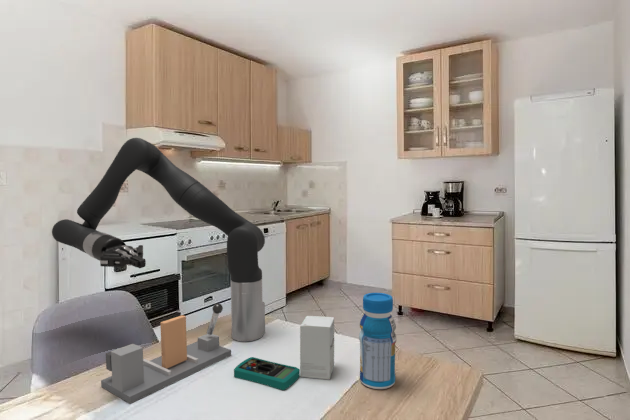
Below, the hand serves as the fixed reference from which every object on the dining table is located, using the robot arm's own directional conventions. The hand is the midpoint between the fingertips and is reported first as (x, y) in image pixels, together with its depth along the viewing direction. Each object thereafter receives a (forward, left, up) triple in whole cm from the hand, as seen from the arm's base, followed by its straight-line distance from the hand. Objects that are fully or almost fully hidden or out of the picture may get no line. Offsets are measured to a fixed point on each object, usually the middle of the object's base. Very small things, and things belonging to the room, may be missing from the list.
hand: (143, 264), depth 103 cm
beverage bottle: (-23, +56, -25) cm, 66 cm away
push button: (+12, +8, -21) cm, 25 cm away
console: (+1, +12, -25) cm, 28 cm away
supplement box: (-19, +42, -25) cm, 53 cm away
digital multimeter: (-10, +34, -25) cm, 44 cm away
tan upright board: (+1, +14, -23) cm, 27 cm away
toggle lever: (-11, +12, -20) cm, 26 cm away
